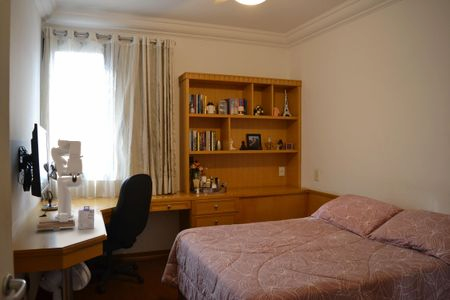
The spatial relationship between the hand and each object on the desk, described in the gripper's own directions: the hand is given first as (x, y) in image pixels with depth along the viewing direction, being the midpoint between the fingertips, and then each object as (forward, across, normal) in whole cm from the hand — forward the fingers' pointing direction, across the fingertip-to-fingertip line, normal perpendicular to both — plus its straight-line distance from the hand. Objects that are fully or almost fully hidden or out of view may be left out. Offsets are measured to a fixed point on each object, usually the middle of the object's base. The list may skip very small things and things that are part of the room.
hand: (74, 182), depth 243 cm
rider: (+25, +7, +17) cm, 31 cm away
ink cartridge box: (+29, -7, +19) cm, 36 cm away
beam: (+29, +11, +17) cm, 35 cm away
